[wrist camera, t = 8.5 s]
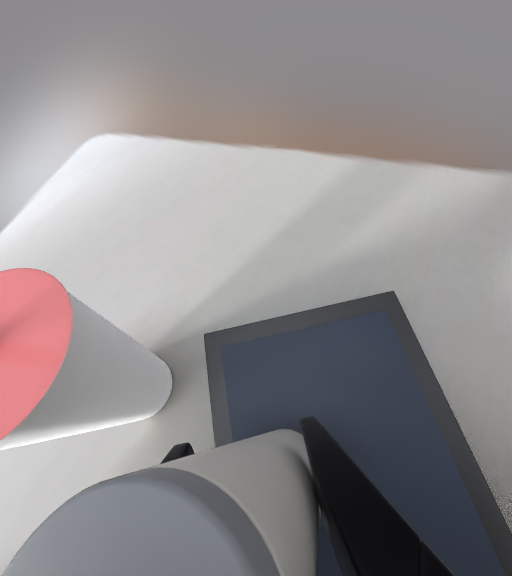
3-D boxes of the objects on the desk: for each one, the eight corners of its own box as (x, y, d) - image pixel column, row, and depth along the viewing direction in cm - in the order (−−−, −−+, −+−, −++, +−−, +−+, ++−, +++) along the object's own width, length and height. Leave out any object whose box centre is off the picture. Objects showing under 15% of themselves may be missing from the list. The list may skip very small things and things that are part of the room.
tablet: (730, 1026, 6) (800, 1123, 6) (288, 1078, 7) (286, 1177, 6) (389, 296, 16) (394, 289, 15) (208, 338, 16) (202, 333, 15)
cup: (186, 332, 16) (-21, 170, 6) (192, 429, 14) (-153, 467, 3) (103, 350, 17) (-247, 227, 6) (95, 449, 14) (-533, 548, 3)
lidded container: (332, 503, 11) (381, 1261, 1) (261, 515, 11) (-161, 1173, 1) (311, 422, 12) (252, 448, 3) (249, 435, 13) (-11, 504, 3)
